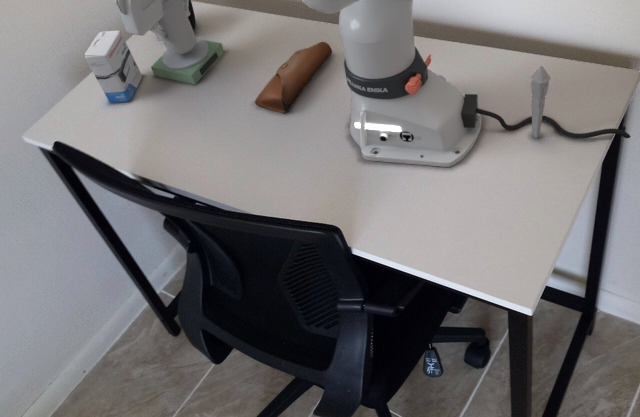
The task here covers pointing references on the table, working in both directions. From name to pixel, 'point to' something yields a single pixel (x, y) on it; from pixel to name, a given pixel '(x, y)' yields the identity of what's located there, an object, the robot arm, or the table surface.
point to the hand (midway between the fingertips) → (174, 27)
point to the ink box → (113, 66)
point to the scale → (188, 62)
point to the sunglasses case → (293, 78)
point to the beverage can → (177, 28)
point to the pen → (538, 98)
